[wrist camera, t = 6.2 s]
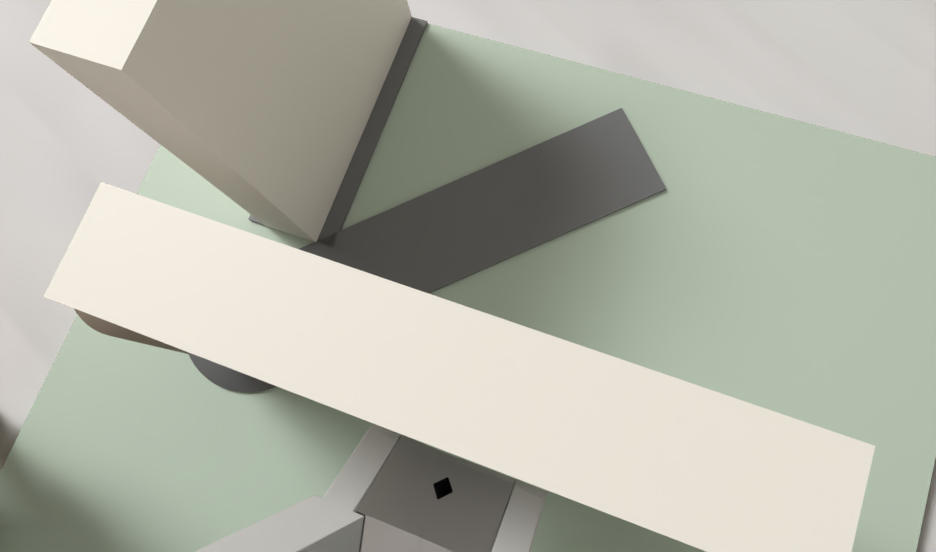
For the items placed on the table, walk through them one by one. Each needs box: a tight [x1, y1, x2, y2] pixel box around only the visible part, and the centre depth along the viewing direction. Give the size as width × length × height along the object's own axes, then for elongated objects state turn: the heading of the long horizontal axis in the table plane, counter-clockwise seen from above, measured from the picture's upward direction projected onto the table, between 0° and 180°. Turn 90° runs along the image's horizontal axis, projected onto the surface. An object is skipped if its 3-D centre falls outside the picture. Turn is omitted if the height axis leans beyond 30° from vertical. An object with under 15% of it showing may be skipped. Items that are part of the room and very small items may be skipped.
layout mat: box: [0, 17, 936, 552], centre depth 15 cm, size 20×20×1 cm
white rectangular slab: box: [43, 182, 875, 552], centre depth 11 cm, size 9×2×8 cm, turn 70°
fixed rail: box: [29, 0, 412, 357], centre depth 13 cm, size 10×2×8 cm, turn 160°
